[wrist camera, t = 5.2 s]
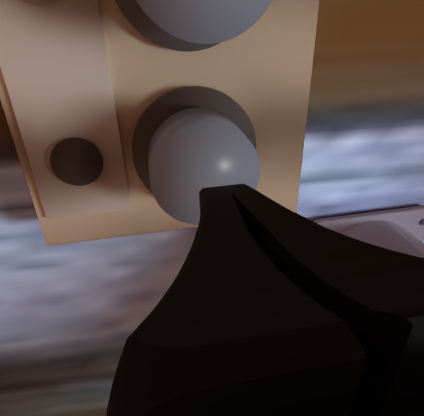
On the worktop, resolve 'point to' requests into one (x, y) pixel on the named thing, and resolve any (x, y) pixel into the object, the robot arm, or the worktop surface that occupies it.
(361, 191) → the worktop surface
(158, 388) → the robot arm
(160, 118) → the button board
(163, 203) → the button
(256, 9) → the button middle
